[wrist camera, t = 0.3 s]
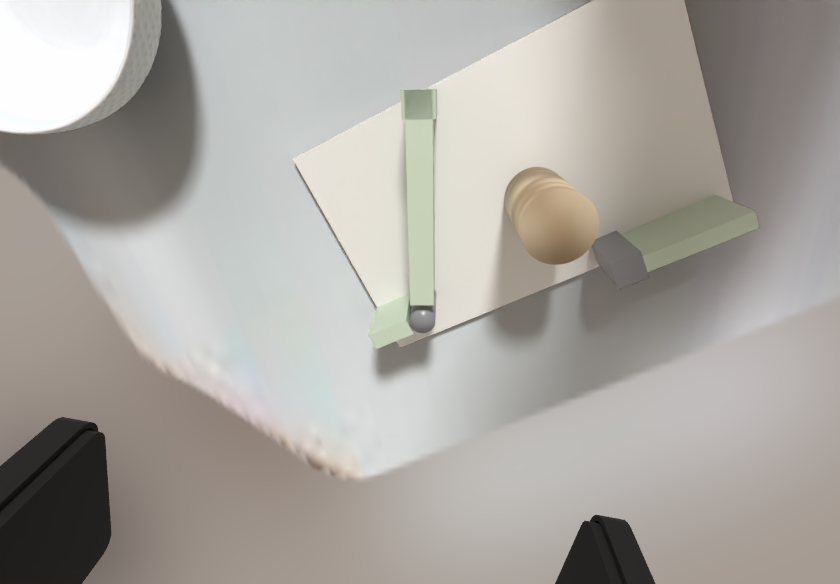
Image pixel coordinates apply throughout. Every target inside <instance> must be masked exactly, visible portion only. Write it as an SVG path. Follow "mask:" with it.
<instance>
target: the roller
mask: <svg viewBox="0 0 840 584" xmlns="http://www.w3.org/2000/svg"><path fill="white" fill-rule="evenodd" d="M504 204H505V208H506V211H507V213H508V215H509V217H510V219H511V221H512V223H513V225H514V227H515V229H516V231H517V233H518V235H519V237H520V239H521V241H522V243H523V245H524V247H525V249H526V250H527V252H528V253H529V254H530V255H531V256H532V257H533V258H535V259H536V260H538V261H540V262H543V263H546V264H551V265H560V264H566V263H569V262H572V261H574V260H576V259H578V258H580V257H581V256H582V255H584V254H585V253H586V252H587V251H588V250H589V249H590V247H591V246H592V245H593V243H594V241H595V239H596V237H597V234H598V229H599V218H598V214H597V211H596V208H595V207H594V205H593V204H592V202H591V201H590V200H589V199H588V198H587V197H585V196H584V195H583V194H582V193H580V192H579V191H578V190H577V189H575V188H574V187H573V186H572V185H570V184H569V183H568V182H567V181H565V180H564V179H563V178H562V177H560V176H559V175H558V174H557V173H555V172H554V171H552V170H550V169H548V168H544V167H531V168H527V169H525V170H523V171H521V172H519V173H518V174H517V175H515V176H514V177H513V179H512V180H511V181H510V182H509V184H508V186H507V188H506V191H505V196H504Z"/></svg>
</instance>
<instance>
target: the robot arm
mask: <svg viewBox="0 0 840 584" xmlns="http://www.w3.org/2000/svg"><path fill="white" fill-rule="evenodd" d="M110 537H111V521H110V506H109V491H108V477H107V461H106V446H105V436H104V434H103V433H101V432H98V427H97V425H96V424H95V423H92V422H86V421H80V420H75V419H70V418H64V417H61V418H58V419H56V420H55V421H53V422H52V423H51V424H50V425H48V426H47V427H46V428H45V429H44V430H43V431H41V432H40V433H39V434H38V435H37V436H35V437H34V438H33V439H32V440H31V441H29V442H28V443H27V444H26V445H25V446H24V447H22V448H21V449H20V450H19V451H18V452H16V453H15V454H14V455H13V456H12V457H11V458H9V459H8V460H7V461H6V462H5V463H4V464H2V465H1V466H0V584H82V583H83V581H84V580H85V579H86V577H87V576H88V574H89V573H90V572H91V570H92V569H93V568H94V566H95V565H96V563H97V562H98V561H99V559H100V558H101V557H102V555H103V554H104V552H105V550H106V548H107V546H108V544H109V541H110ZM555 584H655V582H654V580H653V577H652V575H651V573H650V571H649V568H648V566H647V564H646V561H645V559H644V557H643V555H642V552H641V550H640V548H639V545H638V543H637V541H636V539H635V536H634V534H633V532H632V530H631V527H630V526H629V524H628V523H627V522H626V521H625V520H621V519H616V518H611V517H605V516H600V515H595V516H593V517H592V519H591V520H590V522H589V521H584V522H583V523H582V525H581V527H580V529H579V531H578V534H577V536H576V538H575V540H574V543H573V545H572V547H571V550H570V552H569V554H568V556H567V558H566V561H565V563H564V565H563V567H562V570H561V572H560V574H559V576H558V579H557V581H556V583H555Z"/></svg>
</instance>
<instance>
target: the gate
mask: <svg viewBox="0 0 840 584" xmlns="http://www.w3.org/2000/svg"><path fill="white" fill-rule="evenodd" d="M401 116H402V120H405V137H406V173H407V210H408V246H409V282H410V305H434V287H435V194H434V119H436V117H437V89H404V90H401Z"/></svg>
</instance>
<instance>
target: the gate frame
mask: <svg viewBox="0 0 840 584" xmlns="http://www.w3.org/2000/svg"><path fill="white" fill-rule="evenodd" d="M426 89H437V117H436V119H434V194H435V287H434V305H410V282H409V246H408V210H407V173H406V137H405V120H402V116H401V102H399V103H397V104H395V105H394V106H392V107H390V108H388V109H386V110H384V111H382V112H380V113H378V114H376V115H375V116H373V117H371V118H369V119H367V120H365V121H363V122H361V123H359V124H357V125H356V126H354V127H352V128H350V129H348V130H346V131H344V132H342V133H340V134H338V135H337V136H335V137H333V138H331V139H329V140H327V141H325V142H323V143H321V144H319V145H318V146H316V147H314V148H312V149H310V150H308V151H306V152H304V153H302V154H301V155H299V156H297V157H295V158H293V160H294V162H295V164H296V166H297V168H298V169H299V171H300V173H301V175H302V176H303V178H304V180H305V182H306V183H307V185H308V187H309V189H310V190H311V192H312V194H313V196H314V197H315V199H316V201H317V203H318V204H319V206H320V208H321V210H322V212H323V213H324V215H325V217H326V219H327V220H328V222H329V224H330V226H331V227H332V229H333V231H334V233H335V234H336V236H337V238H338V240H339V241H340V243H341V245H342V247H343V248H344V250H345V252H346V254H347V256H348V257H349V259H350V261H351V263H352V264H353V266H354V268H355V270H356V271H357V273H358V275H359V277H360V278H361V280H362V282H363V284H364V285H365V287H366V289H367V291H368V292H369V294H370V296H371V298H372V300H373V301H374V303H375V305H376V307H377V309H376V312H375V316H374V319H373V322H372V326H371V329H370V332H369V338H370V339H371V341H372V343H373V345H374V346H375V348H376V349H378V348H381V347H383V346H385V345H388V344H390V343H393V342H395V341H396V342H397V343H398V345H399V347H400V348H401V347H403V346H406V345H408V344H411V343H413V342H415V341H418V340H420V339H423V338H425V337H428V336H430V335H433V334H435V333H438V332H440V331H443V330H445V329H447V328H450V327H452V326H455V325H457V324H460V323H462V322H465V321H467V320H470V319H472V318H474V317H477V316H479V315H482V314H484V313H487V312H489V311H492V310H494V309H497V308H499V307H502V306H504V305H506V304H509V303H511V302H514V301H516V300H519V299H521V298H524V297H526V296H529V295H531V294H533V293H536V292H538V291H541V290H543V289H546V288H548V287H551V286H553V285H556V284H558V283H561V282H563V281H565V280H568V279H570V278H573V277H575V276H578V275H580V274H583V273H585V272H588V271H590V270H593V269H595V268H597V267H601V268H602V269H603V271H604V272H605V273H606V274H607V275H608V276H609V278H610V279H611V280H612V281H613V282H614V283H615V285H616V286H617V287H618V288H619V289H621V288H624V287H627V286H629V285H632V284H634V283H637V282H639V281H642V280H644V279H647V278H649V275H648V272H650V271H652V270H655V269H658V268H660V267H663V266H665V265H668V264H670V263H673V262H675V261H678V260H680V259H683V258H685V257H688V256H690V255H693V254H695V253H698V252H700V251H703V250H706V249H708V248H711V247H713V246H716V245H718V244H721V243H723V242H726V241H728V240H731V239H733V238H736V237H738V236H741V235H743V234H746V233H749V232H751V231H754V230H756V229H759V224H758V219H757V215H756V211H754V210H752V209H749V208H747V207H745V206H742V205H740V204H737V203H735V202H733V199H732V194H731V190H730V186H729V182H728V178H727V174H726V170H725V166H724V162H723V157H722V153H721V149H720V145H719V141H718V137H717V133H716V129H715V125H714V120H713V116H712V112H711V108H710V104H709V100H708V96H707V92H706V88H705V84H704V79H703V75H702V71H701V67H700V63H699V59H698V55H697V51H696V47H695V42H694V38H693V34H692V30H691V26H690V22H689V18H688V14H687V10H686V5H685V1H684V0H593V1H591V2H589V3H587V4H585V5H583V6H581V7H579V8H578V9H576V10H574V11H572V12H570V13H568V14H566V15H564V16H562V17H560V18H559V19H557V20H555V21H553V22H551V23H549V24H547V25H545V26H543V27H542V28H540V29H538V30H536V31H534V32H532V33H530V34H528V35H526V36H524V37H523V38H521V39H519V40H517V41H515V42H513V43H511V44H509V45H507V46H505V47H504V48H502V49H500V50H498V51H496V52H494V53H492V54H490V55H488V56H486V57H485V58H483V59H481V60H479V61H477V62H475V63H473V64H471V65H469V66H468V67H466V68H464V69H462V70H460V71H458V72H456V73H454V74H452V75H450V76H449V77H447V78H445V79H443V80H441V81H439V82H437V83H435V84H433V85H431V86H430V87H428V88H426ZM531 167H544V168H548V169H550V170H552V171H554V172H555V173H557V174H558V175H559V176H560V177H562V178H563V179H564V180H565V181H567V182H568V183H569V184H570V185H572V186H573V187H574V188H575V189H577V190H578V191H579V192H580V193H582V194H583V195H584V196H585V197H587V198H588V199H589V200H590V201H591V202H592V204H593V205H594V207H595V208H596V211H597V214H598V218H599V229H598V234H597V237H596V239H595V241H594V243H593V245H592V246H591V247H590V249H589V250H588V251H587V252H586V253H585V254H584V255H582V256H581V257H580V258H578V259H576V260H574V261H572V262H569V263H566V264H560V265H551V264H546V263H543V262H540V261H538V260H536V259H535V258H533V257H532V256H531V255H530V254H529V253H528V252H527V250H526V249H525V247H524V245H523V243H522V241H521V239H520V237H519V235H518V233H517V231H516V229H515V227H514V225H513V223H512V221H511V219H510V217H509V215H508V213H507V211H506V208H505V204H504V196H505V191H506V188H507V186H508V184H509V182H510V181H511V180H512V179H513V177H514V176H515V175H517V174H518V173H519V172H521V171H523V170H525V169H527V168H531Z"/></svg>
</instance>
